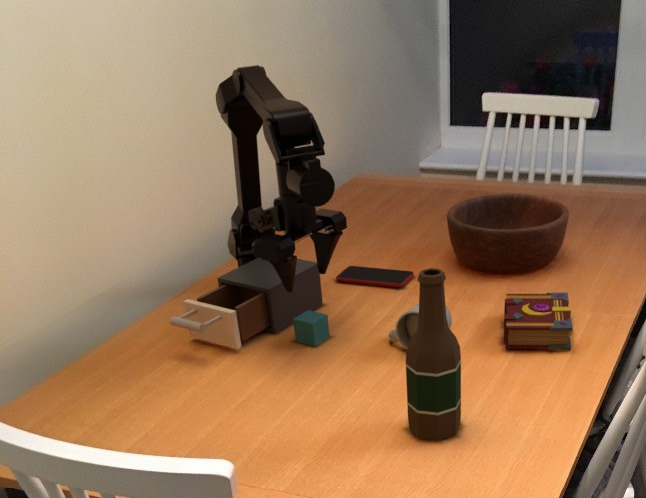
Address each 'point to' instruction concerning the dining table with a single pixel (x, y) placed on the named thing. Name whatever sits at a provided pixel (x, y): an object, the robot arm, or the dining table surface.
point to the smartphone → (375, 276)
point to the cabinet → (279, 289)
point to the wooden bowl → (507, 232)
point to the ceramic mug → (410, 326)
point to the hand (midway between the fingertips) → (306, 282)
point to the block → (311, 328)
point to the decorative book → (537, 321)
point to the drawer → (225, 315)
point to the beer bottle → (433, 365)
